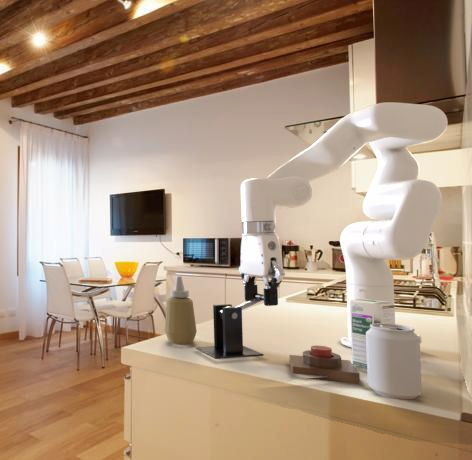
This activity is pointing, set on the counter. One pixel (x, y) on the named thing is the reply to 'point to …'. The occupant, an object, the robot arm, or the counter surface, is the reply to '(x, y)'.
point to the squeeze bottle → (180, 316)
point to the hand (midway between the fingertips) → (260, 302)
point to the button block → (325, 368)
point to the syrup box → (367, 324)
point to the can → (393, 360)
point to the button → (321, 351)
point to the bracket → (228, 334)
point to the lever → (248, 303)
